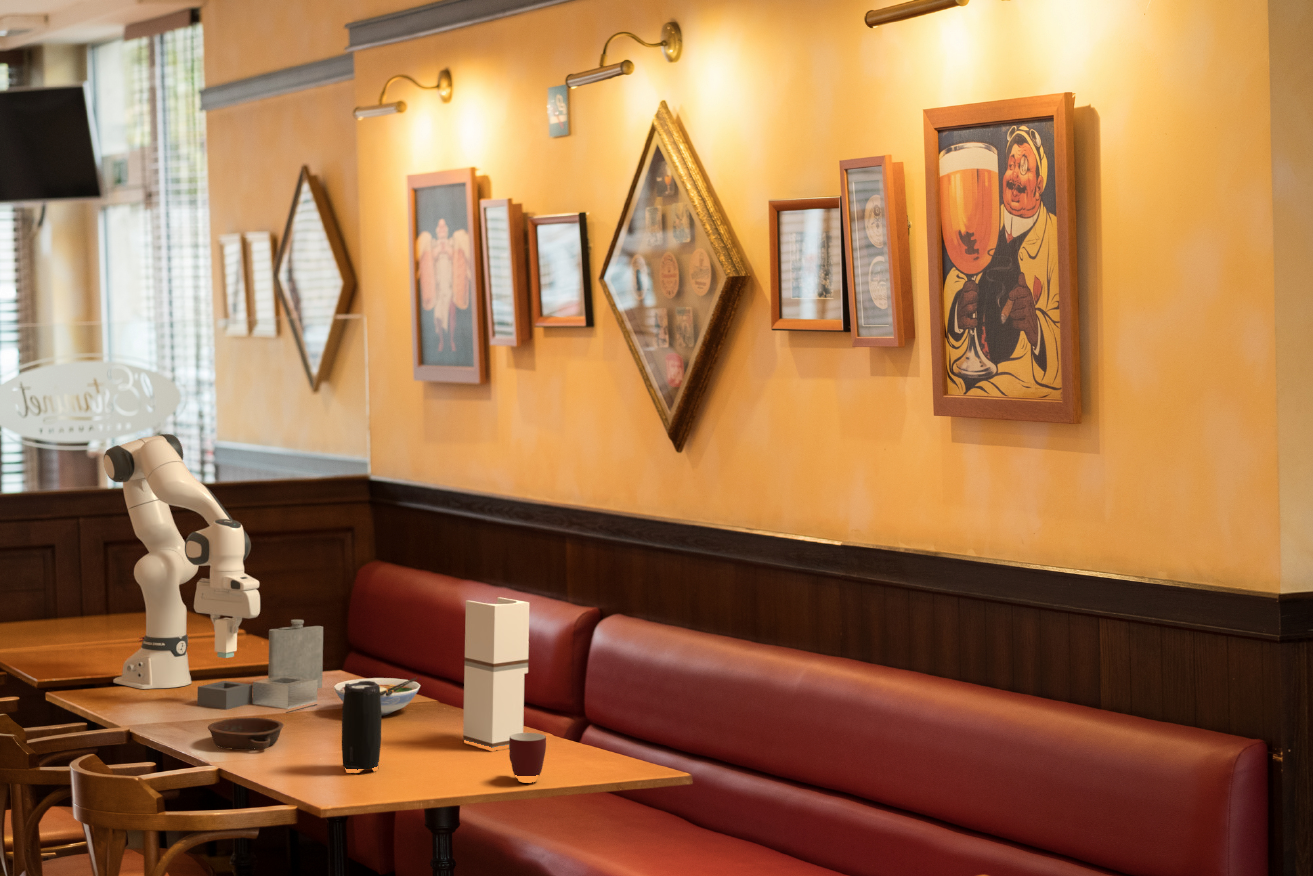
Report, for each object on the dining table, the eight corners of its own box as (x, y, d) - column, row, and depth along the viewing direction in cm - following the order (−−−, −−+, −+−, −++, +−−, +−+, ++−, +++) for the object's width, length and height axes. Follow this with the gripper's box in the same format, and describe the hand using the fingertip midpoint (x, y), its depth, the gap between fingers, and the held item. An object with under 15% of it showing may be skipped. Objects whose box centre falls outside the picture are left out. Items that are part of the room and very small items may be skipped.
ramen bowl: (355, 701, 410) (355, 672, 410) (433, 706, 406) (434, 677, 405) (316, 720, 386) (317, 688, 386) (399, 726, 381) (400, 694, 381)
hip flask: (319, 685, 432) (320, 617, 431) (325, 688, 428) (326, 618, 428) (266, 690, 423) (267, 620, 422) (271, 693, 419) (272, 622, 419)
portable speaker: (363, 763, 341) (365, 678, 341) (388, 771, 335) (390, 684, 335) (332, 769, 335) (334, 683, 334) (358, 777, 329) (359, 689, 328)
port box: (252, 707, 399) (252, 681, 399) (282, 700, 410) (282, 674, 410) (287, 712, 394) (288, 686, 394) (317, 705, 405) (317, 679, 404)
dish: (225, 759, 343) (226, 737, 343) (194, 740, 361) (194, 720, 361) (297, 750, 354) (298, 729, 354) (263, 732, 372) (263, 712, 371)
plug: (214, 657, 397) (215, 619, 397) (225, 654, 401) (225, 617, 400) (226, 658, 395) (226, 621, 395) (236, 656, 399) (237, 619, 399)
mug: (493, 779, 330) (494, 734, 329) (521, 773, 335) (522, 729, 335) (525, 788, 322) (525, 742, 322) (552, 782, 328) (553, 737, 328)
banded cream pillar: (526, 745, 362) (529, 602, 362) (492, 752, 355) (494, 605, 354) (497, 737, 371) (500, 597, 370) (463, 743, 363) (465, 600, 362)
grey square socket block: (197, 709, 396) (197, 686, 396) (223, 702, 405) (224, 680, 405) (226, 713, 391) (226, 690, 391) (252, 706, 400) (252, 684, 400)
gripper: (189, 578, 399) (188, 630, 399) (248, 584, 390) (247, 637, 390) (205, 576, 405) (204, 627, 405) (264, 582, 396) (263, 634, 396)
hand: (226, 632), depth 398 cm, fingers closed on plug, 4 cm apart
